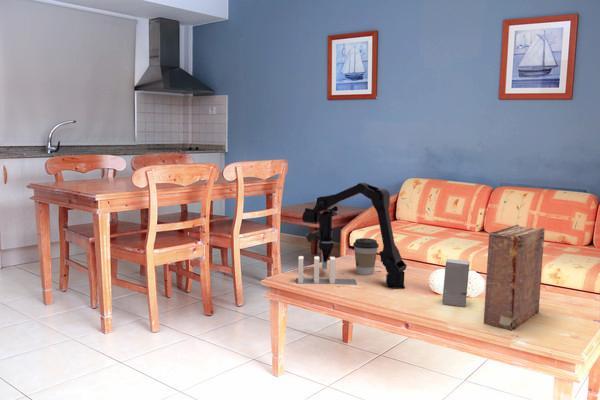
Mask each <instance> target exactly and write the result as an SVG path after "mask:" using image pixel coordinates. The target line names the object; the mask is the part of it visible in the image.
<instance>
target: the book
mask: <svg viewBox="0 0 600 400" xmlns="http://www.w3.org/2000/svg"><path fill="white" fill-rule="evenodd" d="M544 241H545V227H542V228H541V227H540V228H534V227H526V226H519V224H514V225H511V226H508V227H504V228H502V229H499V230H495V231H491V232H489V233H488V245H487V246H488V247H487V261H486V276H485V277H486V280H485V295H484V296H485V297H484V309H483V310H484V312H483V324H484V325H490V326H493V327H496V328H501V329H504V330H510V331H513V330H515V329H516V328H518V327H519V326H521V325H522V324H524V323H526V321H528V320H530V319H531V318H533V317H534V316H536V315H537V314H539V312H540V311H539V310H540V298H541V297H540V296H541V283H542V282H541V281H542V272H543V270H542V269H543V254H544ZM535 314H536V315H535ZM532 316H533V317H532ZM529 318H530V319H529Z"/></svg>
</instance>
